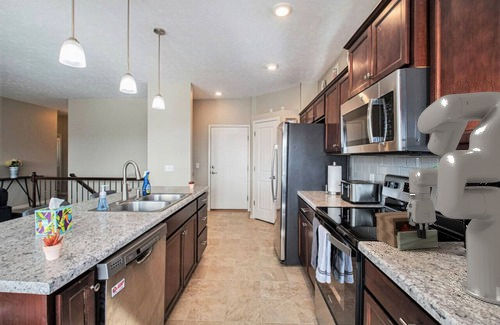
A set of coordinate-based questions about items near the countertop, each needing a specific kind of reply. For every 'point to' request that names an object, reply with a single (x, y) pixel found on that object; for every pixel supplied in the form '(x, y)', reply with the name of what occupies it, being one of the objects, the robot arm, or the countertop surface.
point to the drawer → (415, 239)
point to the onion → (404, 229)
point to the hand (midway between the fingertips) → (421, 238)
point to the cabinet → (391, 226)
